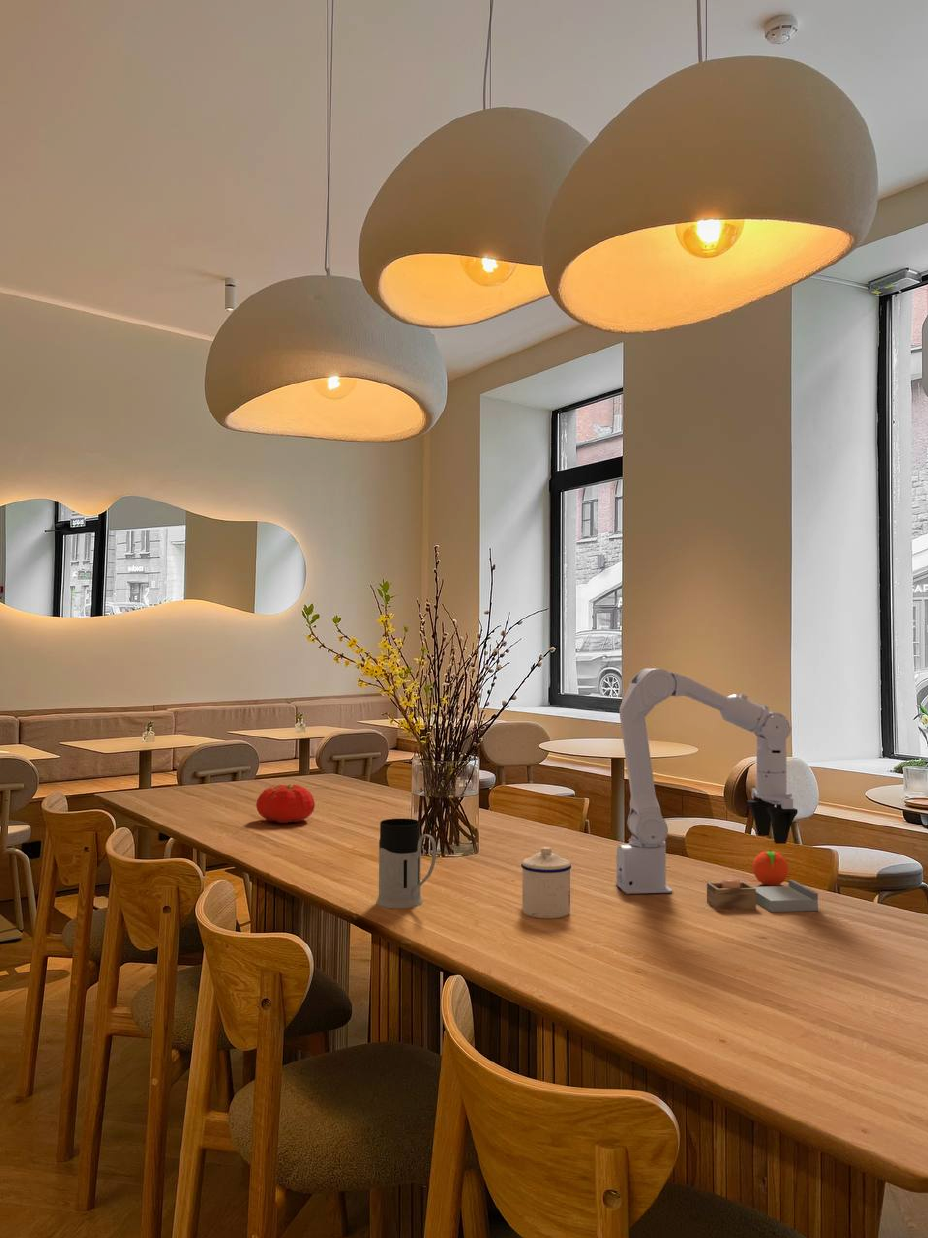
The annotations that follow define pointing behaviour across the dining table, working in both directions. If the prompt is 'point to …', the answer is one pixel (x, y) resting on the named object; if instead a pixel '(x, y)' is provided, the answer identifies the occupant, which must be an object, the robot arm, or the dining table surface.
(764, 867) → the red fruit
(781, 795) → the robot arm
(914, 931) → the dining table surface
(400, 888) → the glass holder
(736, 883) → the ball
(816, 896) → the dock
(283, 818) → the tomato
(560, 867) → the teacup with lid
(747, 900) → the open wooden crate
